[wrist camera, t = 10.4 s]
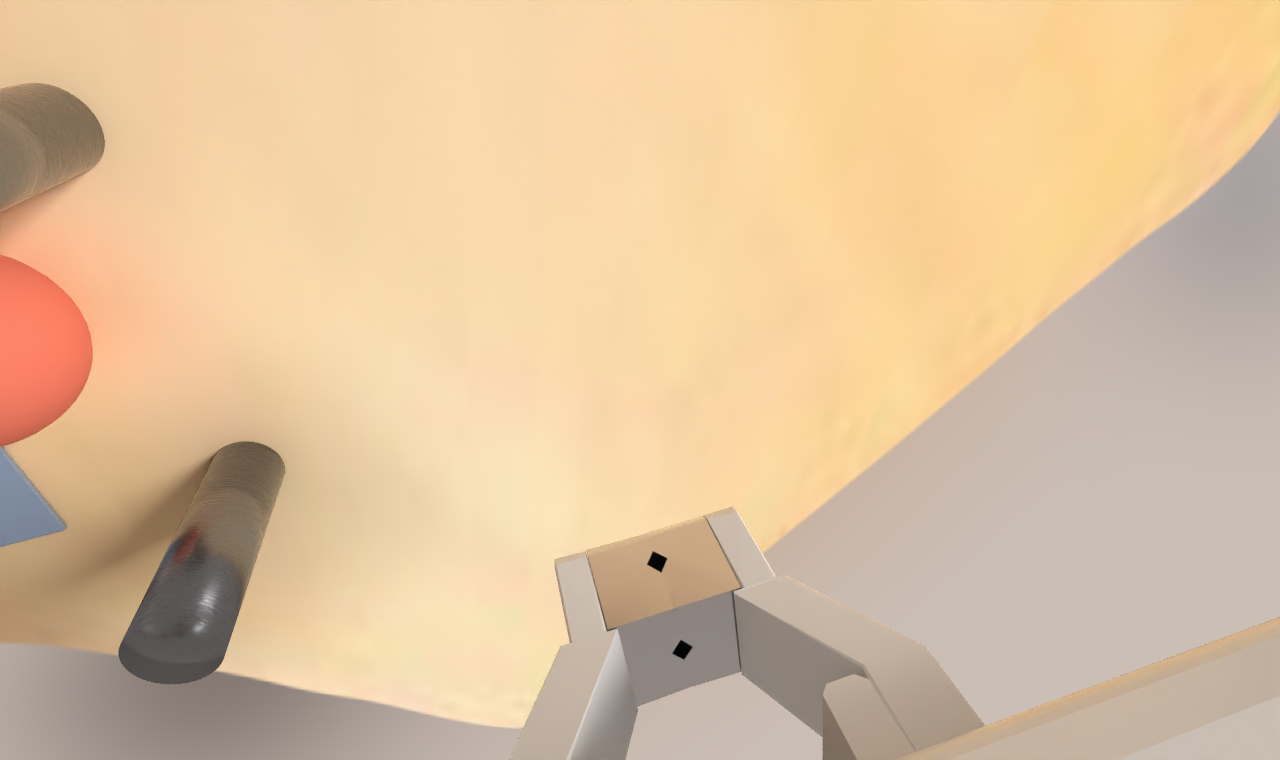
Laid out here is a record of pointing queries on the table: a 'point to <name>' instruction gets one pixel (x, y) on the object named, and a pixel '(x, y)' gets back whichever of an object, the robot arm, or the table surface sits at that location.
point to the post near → (43, 140)
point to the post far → (205, 569)
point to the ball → (38, 351)
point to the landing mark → (22, 506)
